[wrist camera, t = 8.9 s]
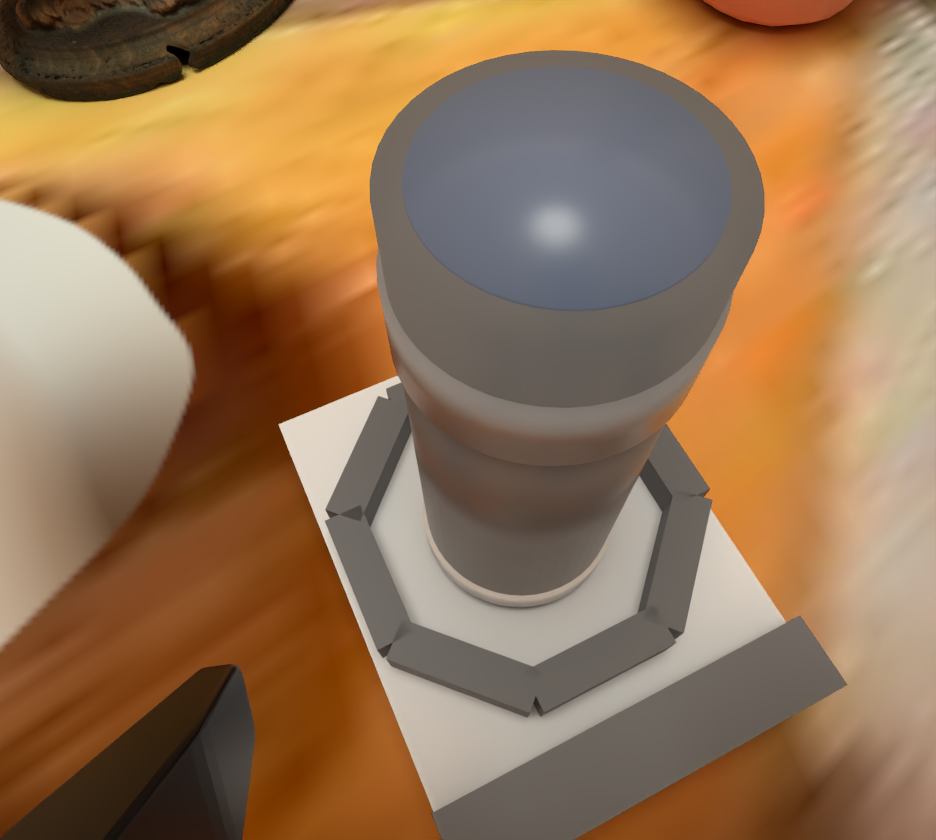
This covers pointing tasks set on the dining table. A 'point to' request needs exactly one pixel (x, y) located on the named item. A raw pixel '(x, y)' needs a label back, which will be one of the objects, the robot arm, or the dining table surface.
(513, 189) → the gray tumbler
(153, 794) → the robot arm
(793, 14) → the decorative flower
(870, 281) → the dining table surface
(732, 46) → the dining table surface
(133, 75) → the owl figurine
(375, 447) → the square flange plate
